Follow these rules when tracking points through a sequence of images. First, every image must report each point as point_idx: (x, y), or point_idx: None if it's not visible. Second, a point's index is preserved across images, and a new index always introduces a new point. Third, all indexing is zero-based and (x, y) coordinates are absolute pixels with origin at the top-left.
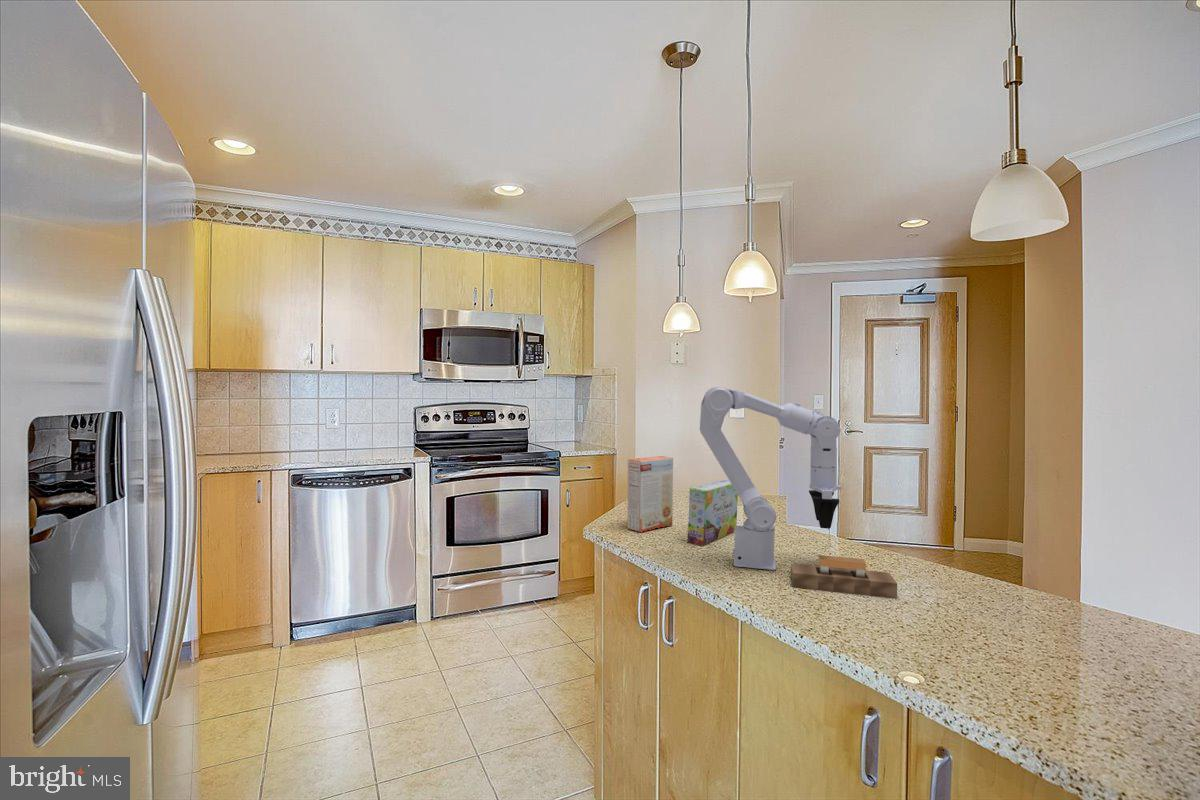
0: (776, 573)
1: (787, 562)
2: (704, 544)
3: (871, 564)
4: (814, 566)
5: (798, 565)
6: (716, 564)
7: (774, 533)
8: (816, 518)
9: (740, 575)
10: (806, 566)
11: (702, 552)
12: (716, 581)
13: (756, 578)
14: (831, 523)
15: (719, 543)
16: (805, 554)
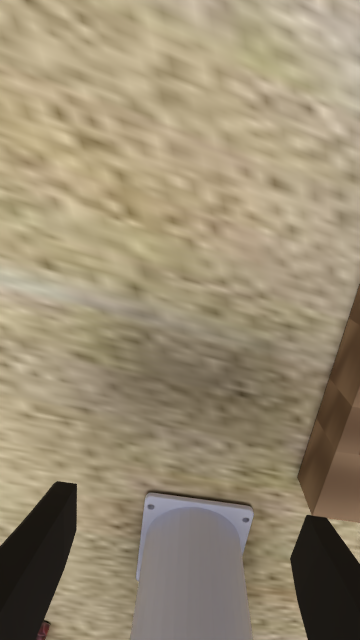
0: (271, 505)
1: (149, 457)
2: (44, 625)
3: (84, 136)
4: (350, 455)
5: (340, 500)
6: None
7: (211, 638)
8: (70, 547)
9: None
10: (351, 480)
11: (113, 629)
12: None
13: None
14: (351, 554)
15: None
16: (28, 382)
